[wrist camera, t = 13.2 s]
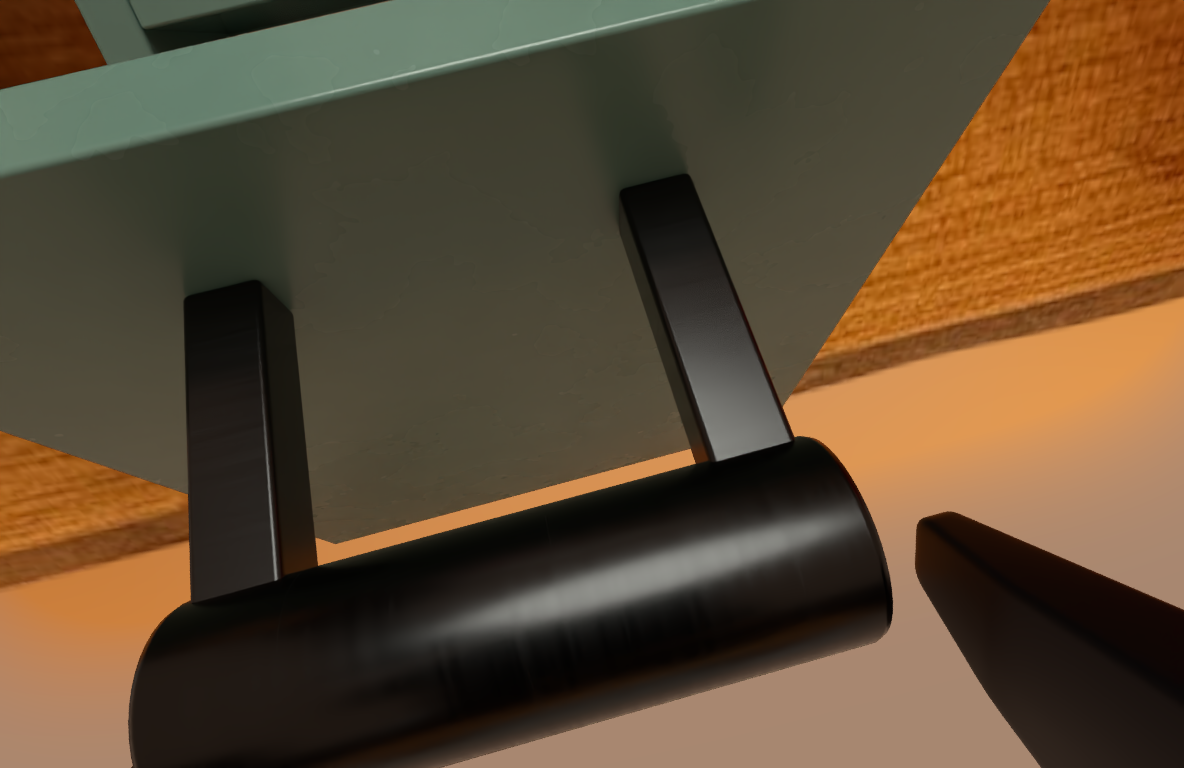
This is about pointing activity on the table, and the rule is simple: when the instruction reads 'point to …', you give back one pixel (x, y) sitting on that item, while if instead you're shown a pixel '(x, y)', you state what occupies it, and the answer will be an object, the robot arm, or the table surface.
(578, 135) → the cover
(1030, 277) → the table surface
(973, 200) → the table surface
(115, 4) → the case
